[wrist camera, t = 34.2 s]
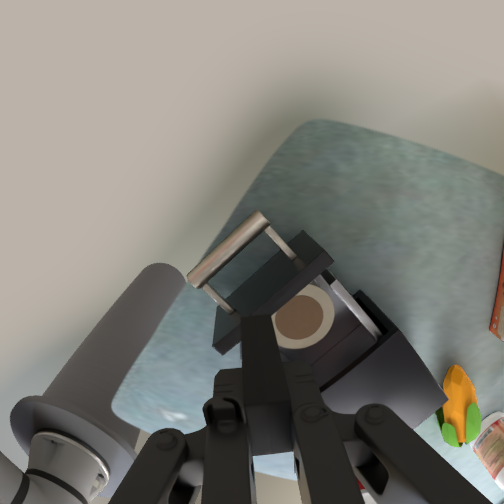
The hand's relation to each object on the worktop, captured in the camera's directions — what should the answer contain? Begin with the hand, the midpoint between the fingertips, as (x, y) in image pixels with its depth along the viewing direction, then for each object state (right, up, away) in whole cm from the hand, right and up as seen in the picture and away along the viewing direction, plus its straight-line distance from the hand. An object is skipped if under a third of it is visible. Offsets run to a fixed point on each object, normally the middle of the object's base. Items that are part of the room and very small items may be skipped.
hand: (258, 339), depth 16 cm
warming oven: (+11, -9, +20) cm, 24 cm away
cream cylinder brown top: (+4, -1, +15) cm, 16 cm away
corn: (+30, -18, +23) cm, 42 cm away
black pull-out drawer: (+3, 0, +16) cm, 16 cm away
